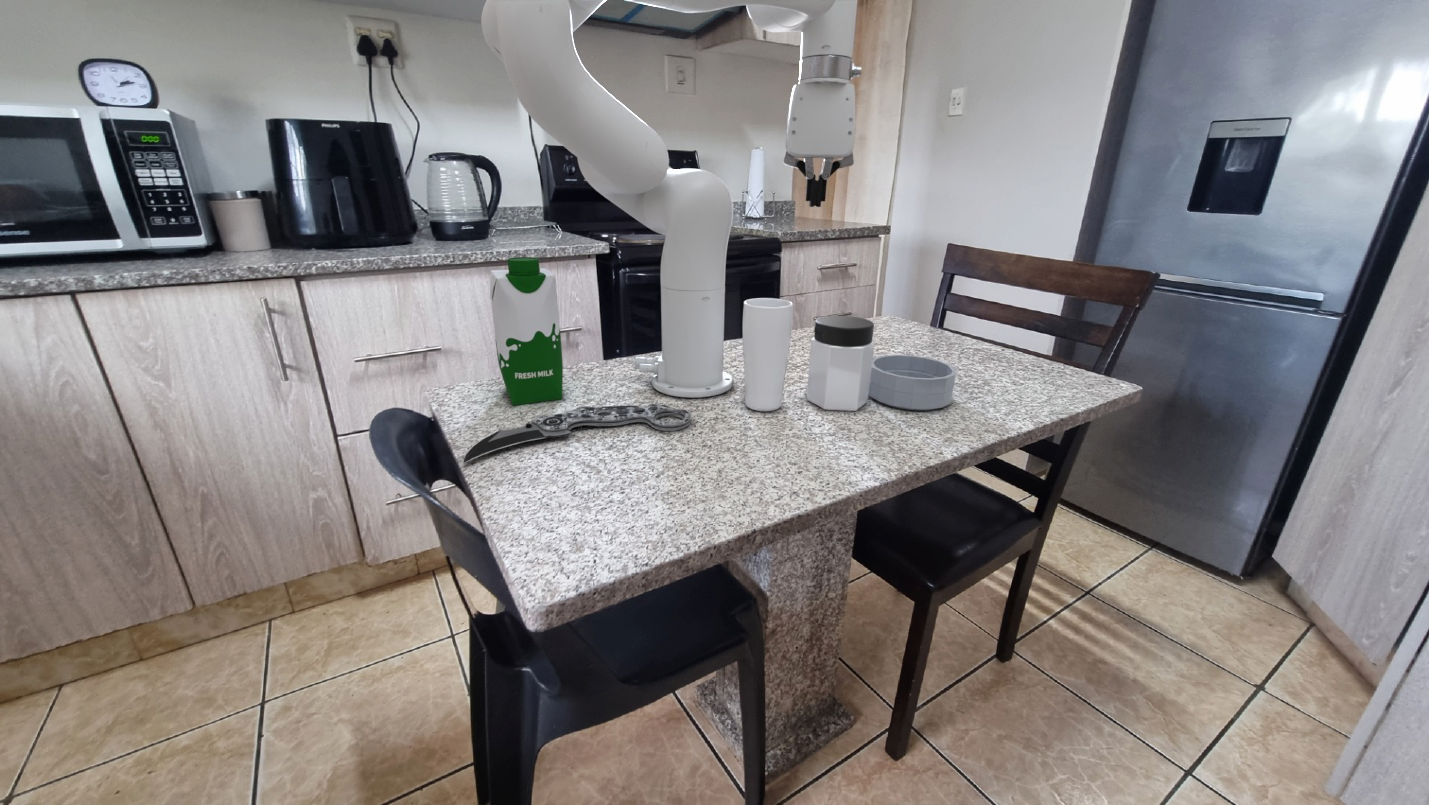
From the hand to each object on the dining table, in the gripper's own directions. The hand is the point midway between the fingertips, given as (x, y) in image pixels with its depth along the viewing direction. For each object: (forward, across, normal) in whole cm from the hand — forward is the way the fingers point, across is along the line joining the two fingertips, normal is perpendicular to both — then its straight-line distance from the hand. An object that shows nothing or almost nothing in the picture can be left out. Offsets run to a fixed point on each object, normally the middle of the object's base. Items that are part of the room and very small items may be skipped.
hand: (814, 206), depth 92 cm
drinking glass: (+27, +7, +20) cm, 34 cm away
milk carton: (+27, +41, +19) cm, 53 cm away
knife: (+27, +30, +32) cm, 51 cm away
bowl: (+27, -15, +13) cm, 33 cm away
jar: (+27, -4, +16) cm, 32 cm away
